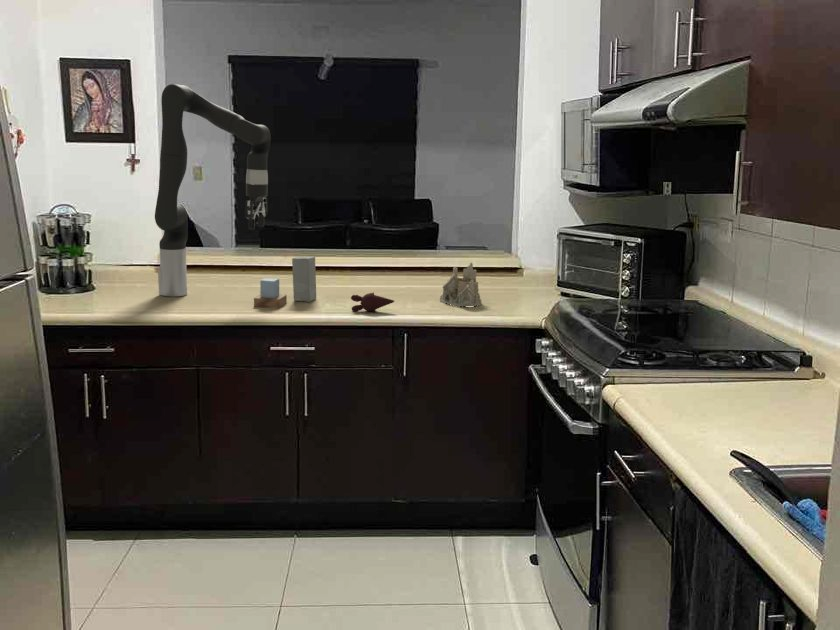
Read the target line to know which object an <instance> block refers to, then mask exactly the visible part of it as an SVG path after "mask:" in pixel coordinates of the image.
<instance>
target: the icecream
mask: <svg viewBox="0 0 840 630" xmlns="http://www.w3.org/2000/svg"><path fill="white" fill-rule="evenodd" d="M350 299H351V300H352V301H353V302H357V303H358V302H360V303H359V304H355V305H353V306H352V307H351V311H352V312H359V311H362V310H363V309H364V310H365V311H368V312H369V313H370V312H371V313H373V312H374V313H376V310H377V309H378V310H379V309H381V308H382V307H385V306H387V305H390V304H393V303H395V300H393V299H390V298H387V297H384V296H379V295H377V294H375V292H370V293H366V294H364V295H363V296H361V295H359V294H352V295H351V297H350Z"/></svg>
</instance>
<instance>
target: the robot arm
mask: <svg viewBox="0 0 840 630" xmlns="http://www.w3.org/2000/svg"><path fill="white" fill-rule="evenodd" d="M161 93H162V94H161V99H160V100H161V101H160V102H161V118H162V119H161V122H162V123H161V124H162V125H161V141H160V143H161V144H160V154H159V155H160V156H159V175H158V176H159V177H158V191H157V199H156V204H155V210H154V220H155V224H156V226H157V227H158V228H159V229H160V230H161V231H163V235H162V238H161V239H160V240H159V245H158V246H159V266H160V268H158V270H157V279H158V295H159V296H162V297H170V298H171V297H183V296H184V297H185V296H186V295H188V277H187V275H188V274H187V250H186V249H187V248H186V247H187V245H186V244H187V242H188V237H189V236H188V235H189V231H188V230H189V222H188V221H189V220H188V219H189V218H188V213H187V211H186V208H185V207H184V206H183V205H181V204H179V203H178V195H179V190H180V188H181V184H182V183H183V180H184V178H185V174H186V171H187V168H188V167H187V165H188V164H187V163H188V146H187V140H186V138H185V135H184V134H185V133H184V131H183V120H184V119H183V117H184V113H185V112H186V113H189V114H194V115H196V116H199V117H201V118H203V119H205V120H207V121H208V122H210V123H211V124H212V125H213V126H215V127H217V128H219V129H221V130H223V131H225V132H227V133H230V134H231V135H234V136H235V137H236V138H239V139H240V140H241V141H243V142H245V143H248V144H250V145H251V147H250V152H249V153H248V154H247V155H246V156H247V157H246V158H247V159H246V175H245V195H246V196H247V197H249V200H248V199H246V200H245V207H244V208H245V209H244V217H245V218H246V219H247V228H248V229H247V230H249V231H254V230H255V227H256V223H255V222H256V215H257V227H258V228H265V217H266V215H268V196H269V195H268V192H269V191H268V185H269V174H268V156H269V152H270V146H271V140H272V137H271V135H272V134H271V132H270V129H269V128H268V127H267V126H266V125H264V124H256V123H253V122H251V121H248V120H246V119H245V118H244V117H243V116H242V115H240V114H237V113H235V112H234V111H232V110H229V109H227V108H225V107H222V106H220V105H217V104H215V103H213V102H211V101H210V100H208V99H206V98H204V96H202V95H200V94H199V93H197V92H195V91H194V90H193V89H191V88H190V87H188V86H187V85H183V84H176V83H171V84H167V85H166V86H165V87H164V89H163V91H162V92H161Z"/></svg>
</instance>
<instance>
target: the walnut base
mask: <svg viewBox="0 0 840 630" xmlns="http://www.w3.org/2000/svg"><path fill="white" fill-rule="evenodd" d="M287 295H288V294H280V293H279V296H278V297H275V298H264V297H261V296H260V294H259V295H257V296H256V297H254V298H253V308H254V307H255V308H268V309H269V308H271V309H280V308H281V307H283V306H284V305H286V304H287Z"/></svg>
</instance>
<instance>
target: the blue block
mask: <svg viewBox="0 0 840 630" xmlns="http://www.w3.org/2000/svg"><path fill="white" fill-rule="evenodd" d="M259 285H260V294H259V295H260V296H261V297H264V298H275V297H278V296H279V294H280V278H272V277H266V278H265V277H264V278H263V279H260V284H259Z"/></svg>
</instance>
